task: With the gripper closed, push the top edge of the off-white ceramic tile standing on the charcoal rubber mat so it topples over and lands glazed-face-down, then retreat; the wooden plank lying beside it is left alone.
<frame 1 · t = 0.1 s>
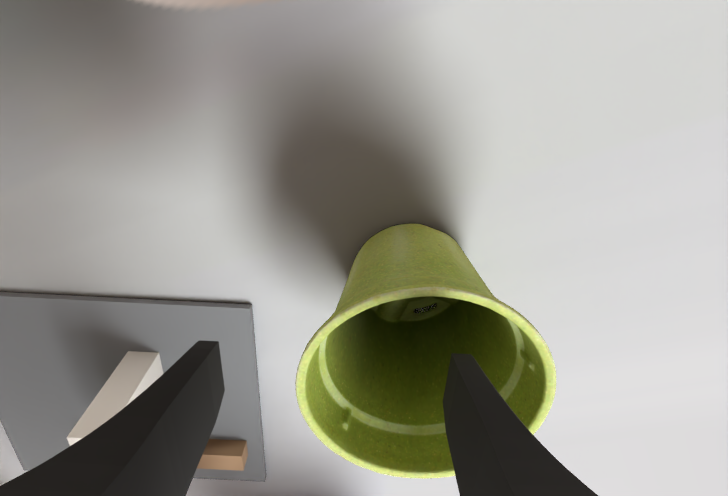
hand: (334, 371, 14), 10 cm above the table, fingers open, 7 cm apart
tile: (152, 389, 28), resting on mat
wooden plank: (165, 443, 30), resting on mat
mat: (126, 394, 28), on the table
plant pot 2: (407, 271, 24), on the table
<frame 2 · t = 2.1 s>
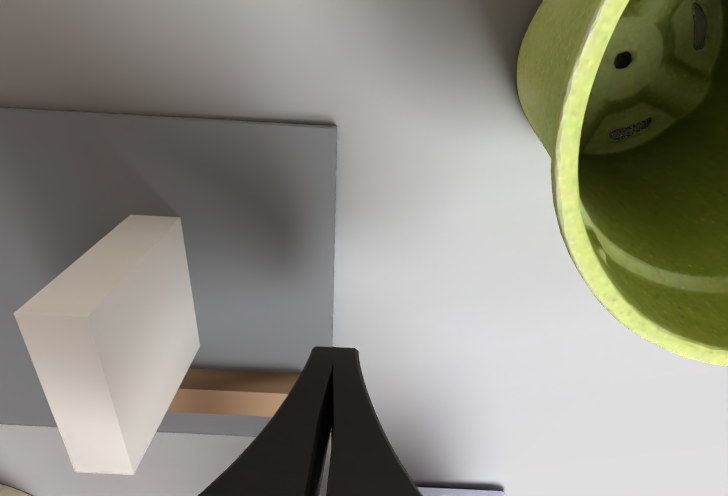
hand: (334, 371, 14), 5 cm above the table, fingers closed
tile: (168, 285, 18), resting on mat
wooden plank: (185, 379, 20), resting on mat
mat: (127, 298, 18), on the table
plant pot 2: (608, 59, 14), on the table
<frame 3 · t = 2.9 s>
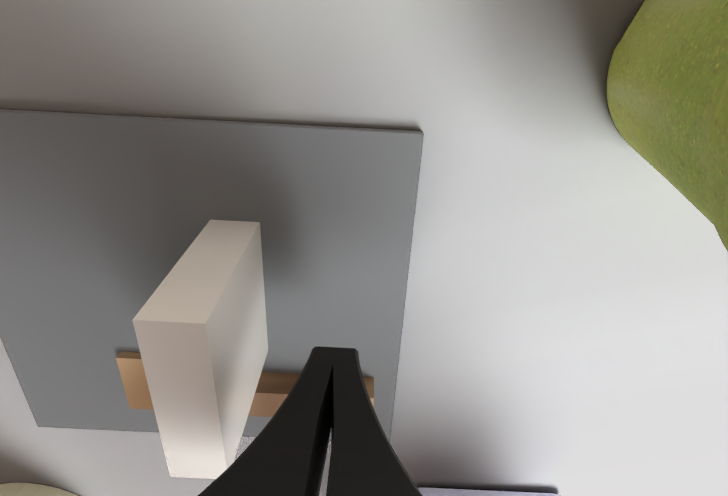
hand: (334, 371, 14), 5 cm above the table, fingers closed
tile: (241, 289, 18), resting on mat
wooden plank: (250, 383, 20), resting on mat
mat: (197, 302, 19), on the table
plant pot 2: (697, 64, 14), on the table
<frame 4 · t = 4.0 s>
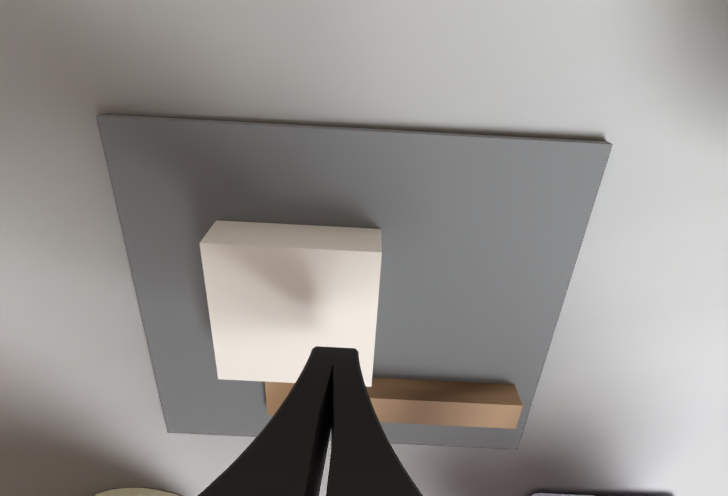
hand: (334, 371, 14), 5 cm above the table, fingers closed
tile: (376, 310, 17), point 1 cm above the table, tilted 90°, touching mat
wooden plank: (389, 390, 20), resting on mat
mat: (348, 309, 19), on the table
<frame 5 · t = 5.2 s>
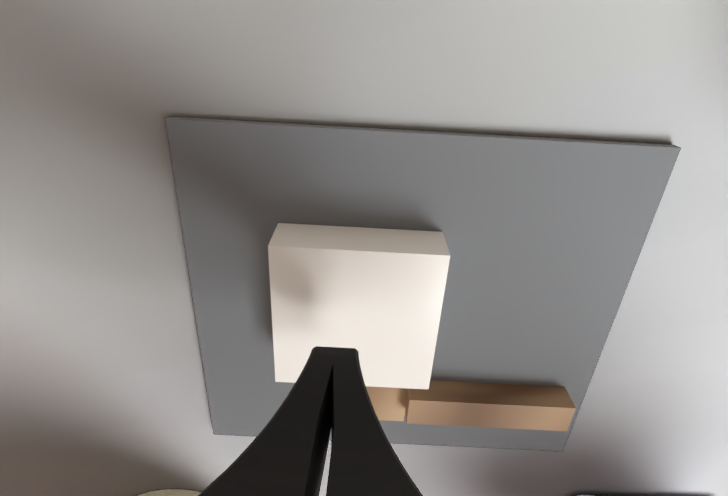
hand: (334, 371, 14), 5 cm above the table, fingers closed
tile: (435, 313, 17), point 1 cm above the table, tilted 90°, touching mat
wooden plank: (439, 392, 20), resting on mat
mat: (402, 312, 19), on the table
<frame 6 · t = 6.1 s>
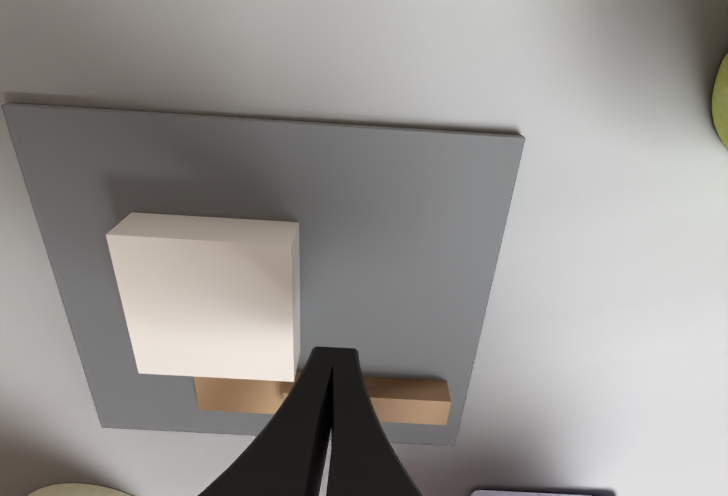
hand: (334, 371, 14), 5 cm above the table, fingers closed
tile: (296, 305, 17), point 1 cm above the table, tilted 90°, touching mat
wooden plank: (321, 385, 20), resting on mat
mat: (275, 304, 18), on the table
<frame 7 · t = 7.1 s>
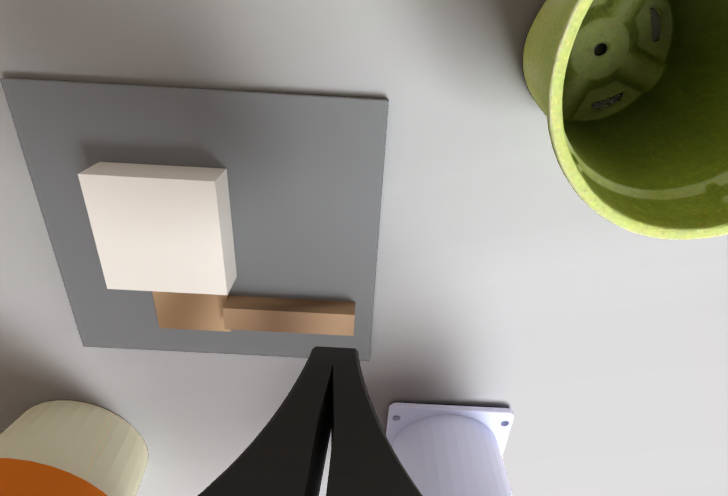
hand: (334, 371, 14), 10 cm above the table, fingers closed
tile: (227, 233, 22), point 1 cm above the table, tilted 90°, touching mat
reusable coffee cup: (85, 443, 32), on the table
wooden plank: (256, 307, 25), resting on mat
mat: (215, 238, 24), on the table
plant pot 2: (590, 49, 19), on the table
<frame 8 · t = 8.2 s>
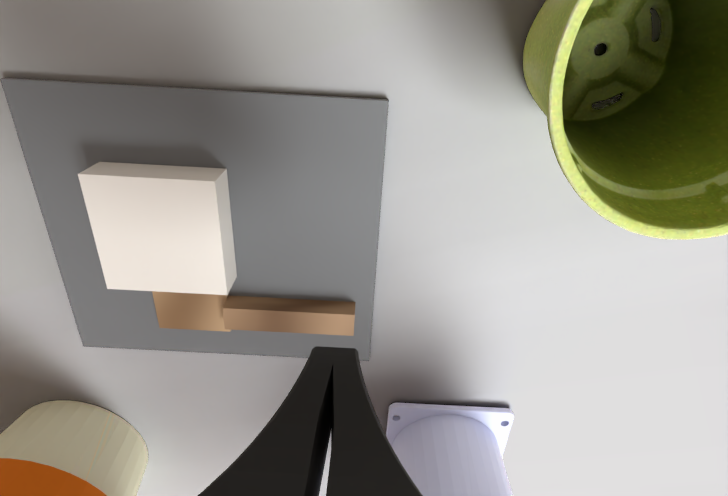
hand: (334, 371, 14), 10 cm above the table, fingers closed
tile: (227, 233, 22), point 1 cm above the table, tilted 90°, touching mat
reusable coffee cup: (85, 443, 32), on the table
wooden plank: (256, 307, 25), resting on mat
mat: (215, 238, 24), on the table
plant pot 2: (590, 49, 19), on the table
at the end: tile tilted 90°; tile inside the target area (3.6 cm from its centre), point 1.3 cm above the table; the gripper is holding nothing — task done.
